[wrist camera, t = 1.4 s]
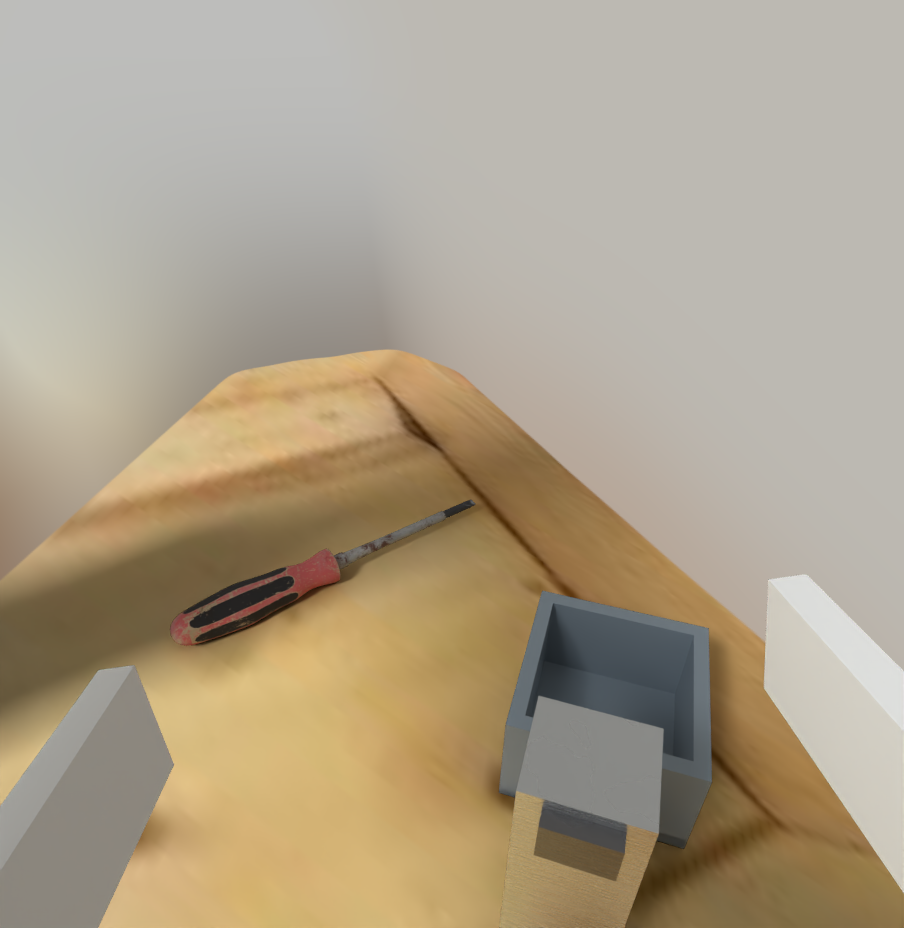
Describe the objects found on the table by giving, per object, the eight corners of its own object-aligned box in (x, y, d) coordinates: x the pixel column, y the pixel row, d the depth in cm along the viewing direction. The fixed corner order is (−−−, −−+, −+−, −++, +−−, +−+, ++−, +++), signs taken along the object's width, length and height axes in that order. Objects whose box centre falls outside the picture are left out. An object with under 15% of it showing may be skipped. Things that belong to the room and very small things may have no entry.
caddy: (498, 792, 35) (505, 724, 32) (533, 656, 43) (542, 590, 40) (683, 849, 33) (712, 782, 30) (686, 695, 41) (708, 628, 37)
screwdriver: (462, 507, 57) (463, 479, 55) (483, 525, 55) (485, 496, 53) (169, 637, 44) (158, 605, 42) (183, 666, 42) (173, 634, 41)
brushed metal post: (484, 1015, 27) (508, 809, 18) (506, 910, 31) (536, 692, 22) (585, 1054, 26) (661, 857, 17) (597, 941, 30) (666, 726, 21)
